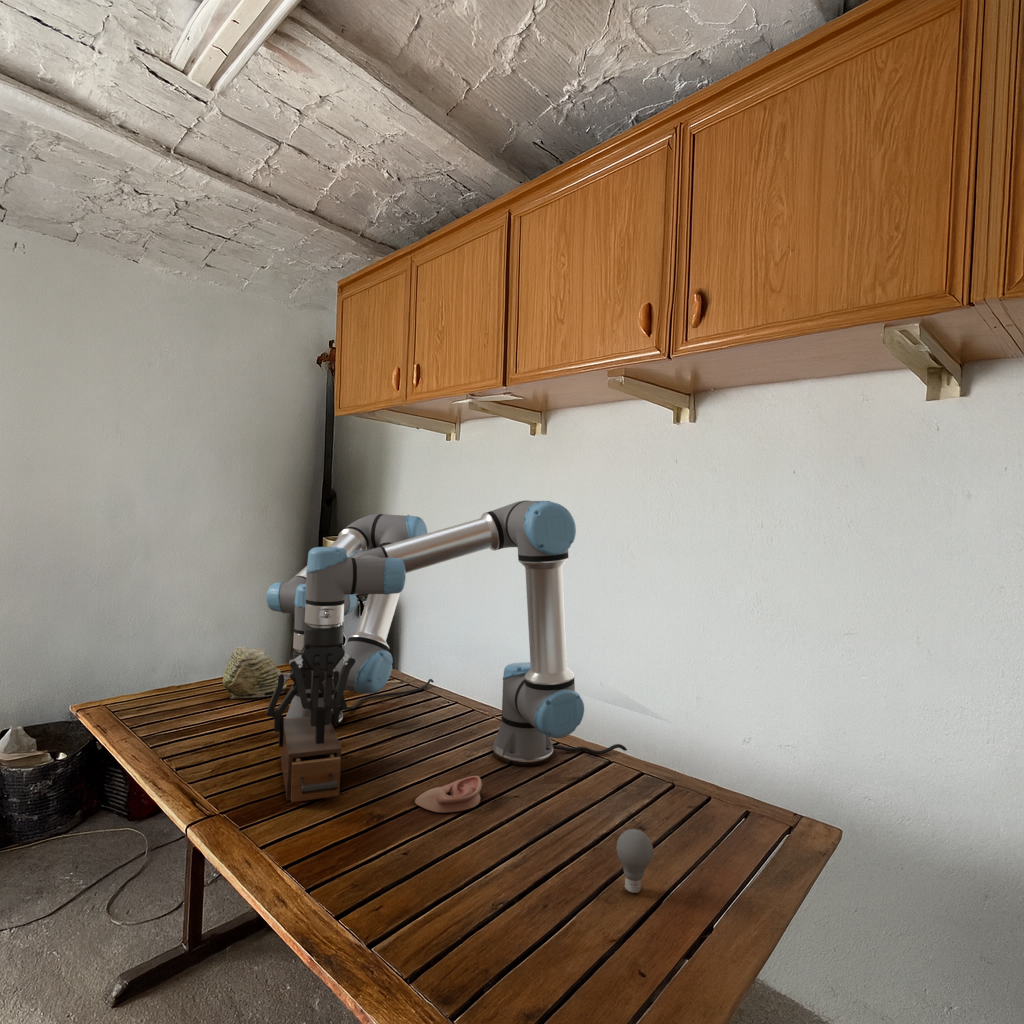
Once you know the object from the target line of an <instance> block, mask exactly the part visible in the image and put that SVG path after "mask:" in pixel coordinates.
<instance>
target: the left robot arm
mask: <svg viewBox="0 0 1024 1024" xmlns="http://www.w3.org/2000/svg"><path fill="white" fill-rule="evenodd" d="M427 533H428V528H427V525H426V523H425V521H424V519H423V518H422V517H420V516H417V515H410V514H407V515H403V514H402V515H401V514H385V513H384V514H383V513H373V514H368V515H366V516H363V517H361V518H359V519H357V520H355V521H353V522H351V523H350V524H349V525H347V526H346V527H345V528H343V529H342V530H341V531H340V532H339V533H338V535H337V539H336V540H335V541H334V542H332V543H331V544H330V545H329V546H328V547H339V548H344V549H345V550H346V553H347V557H349V556H350V555H351V554H352V553H354V552H356V551H360V550H366V551H368V550H371V549H375V548H378V547H382V546H385V545H389V544H392V543H396V542H399V541H403V540H406V539H410V538H413V537H417V536H420V535H424V534H427ZM306 569H307V565H306V566H305V567H303V568H302V569H300V571H298V573H296V574H295V576H293V577H292V578H291V579H290V580H289V581H288V582H284V581H280V582H274V583H272V584H271V585H269V588H268V589H267V592H266V596H265V601H266V604H267V607H268V608H269V610H271V611H273V612H278V613H283V614H291V615H292V614H293V615H294V628H293V639H292V641H293V643H292V648H293V649H294V650H293V652H292V659H295V658H297V657H298V656H300V655H301V651H302V649H303V646H304V627H305V626H306V625H308V624H306V623H305V603H306ZM400 596H401V592H400V593H395V594H388V595H385V594H367V598H366V601H365V604H364V607H363V610H362V613H361V616H360V618H359V622H358V625H357V629H356V632H355V633H354V634H352V635H350V636H348V638H347V642H346V645H343V648H344V650H345V653H346V654H347V655H349V656H353V657H354V659H355V664H354V665H353V667H352V668H351V669H350V672H349V676H348V679H347V683H346V686H345V690H344V691H347V692H354V693H357V694H369V696H365V697H363V698H360V699H359V700H358V701H356V703H355V704H354V705H352V706H348V705H347V702H346V698H345V695H344V694H343V697H342V700H341V704H340V705H339V706H335V707H333V708H332V709H331V718H330V720H331V723H332V725H333V728H334V729H335V728H337V727H339V726H340V725H342V723H343V722H344V714H343V711H348V710H349V711H351V710H355V709H356V708H357V707H358V705H360V703H362V702H364V701H368V700H372V699H377V698H383V697H389V696H391V697H392V696H398V695H399V696H400V695H406V694H411V693H415V692H419V691H422V690H424V689H427V688H428V687H429V685H430V683H434V681H435V680H433V679H432V678H429V679H428V680H427V682H426V684H425V685H423V686H421V687H418V688H413V689H409V690H404V691H397V692H387V693H381V694H376V693H379V692H380V691H381V690H382V689H383V688H384V687H385V685H386V684H387V683H388V681H389V679H390V677H391V675H392V671H393V662H394V661H393V656H392V654H391V652H389V651H390V645H389V644H388V643H387V639H388V637H389V636H388V635H389V633H390V630H391V629H390V628H391V625H392V622H393V618H394V616H395V612H396V609H397V605H398V602H399V599H400ZM357 603H358V600H357V594H353V595H349V594H346V595H345V598H344V617H345V616H347V615H349V614H351V613H352V612H353V611H355V609H356V607H357ZM342 660H343V658H342V659H341V660H340V662H339V663H338V664H337V666H336V667H335V668H334V669H333V677H332V699H333V697H334V694H335V690H336V687H337V683H338V680H339V676H340V673H341V669H342V666H343V663H342ZM300 670H301V673H302V677H303V681H304V686H305V691H306V695H307V700H308V701H311V679H312V670H311V669H310V668H309V667H308V665H307V664H306V663H305V661H304V660H303V661H302V668H300ZM289 679H291V680H292V682H293V684H292V685H291V687H290V689H289V690H288V692H287V693H286V695H285V697H284V698H283V700H282V701H281V702H280V703H279V705H278V707H277V704H278V702H279V699H280V696H281V694H282V693H281V691H282V689H283V686H284V683H286V684H287V682H288V681H289ZM324 683H325V671H320V677H319V695H318V707H324ZM370 694H371V695H370ZM372 694H375V695H372ZM276 707H277V708H276ZM288 707H289V708H288ZM287 708H288V711H287ZM285 711H287V713H286V715H285V717H284V715H283V714H284V712H285ZM266 716H267V717H268V718H269V717H271V718H274V719H273V720H274V721H273V722H274V723H273V729H274V732H275V733H278V747H279V748H281V747H283V726H284V719H289V718H300V717H310V709H307V708H306V709H304V708H303V707H302V704H301V699H300V695H299V690H298V686H297V681H296V677H295V673H294V671H293V670H292V669H291V671H290V672H282V671H280V672H279V673H278V683H277V685H276V688H275V690H274V693H273V695H272V696H271V698H270V701H269V703H268V705H267V708H266Z"/></svg>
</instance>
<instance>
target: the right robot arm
mask: <svg viewBox="0 0 1024 1024" xmlns="http://www.w3.org/2000/svg"><path fill="white" fill-rule="evenodd" d="M576 534H577V525H576V522H575V519H574V517H573V515H572V513H571V512H570V511H569V510H568V509H567V508H566V507H565V506H563V505H562V504H560V503H557V502H554V501H551V500H526V499H525V500H519V501H516V502H512V503H510V504H507V505H504V506H501V507H498V508H495V509H493V510H490V511H487V512H483V513H482V514H481V516H480V518H477V519H474V520H469V521H465V522H463V523H459V524H456V525H453V526H449V527H445V528H442V529H439V530H435V531H431V532H427V534H424V535H420V536H417V537H413V538H410V539H406V540H403V541H399V542H396V543H392V544H389V545H385V546H382V547H378V548H375V549H371V550H368V551H366V550H360V551H356V552H354V553H352V554H351V555H350V556H349V557H347V553H346V550H345V549H344V548H339V547H329V546H317V547H312V548H311V549H310V550H309V551H308V553H307V565H306V566H307V569H306V603H305V623H306V624H308V625H306V626H305V627H304V646H303V649H302V651H301V655H300V656H298V657H297V658H295V659H293V658H291V659H289V660H288V663H289V668H290V669H291V671H292V670H293V671H294V673H295V677H296V681H297V686H298V690H299V695H300V699H301V704H302V707H303V708H304V709H306V708H307V709H310V724H311V726H315V741H316V744H321V743H324V731H325V725H329V724H330V718H331V709H332V708H333V707H335V706H339V705H340V704H341V700H342V697H343V695H344V693H345V691H346V690H345V686H346V683H347V679H348V676H349V672H350V669H351V668H352V667H353V665H354V664H355V659H354V657H353V656H349V655H347V654H346V653H345V650H344V648H343V646H344V626H343V623H344V622H345V620H344V619H345V616H344V598H345V595H346V594H349V595H353V594H356V595H368V594H385V595H388V594H395V593H400V594H401V592H402V591H403V590H404V588H405V584H406V575H407V574H408V573H411V572H414V571H418V570H421V569H423V568H425V569H426V568H428V567H432V566H434V565H438V564H441V563H444V562H447V561H451V560H455V559H457V558H461V557H465V556H468V555H470V554H474V553H478V552H481V551H484V550H488V549H490V550H491V551H493V552H494V551H495V552H496V551H498V550H501V549H502V550H503V549H507V548H517V559H518V562H519V563H520V564H521V565H522V566H523V567H524V572H525V587H526V589H525V590H526V606H527V627H528V643H529V644H528V645H529V661H527V662H525V661H523V662H513V663H509V664H507V665H506V666H505V667H504V669H503V676H502V696H501V697H502V699H501V722H500V725H499V728H498V731H497V732H496V736H495V739H494V742H493V745H492V747H493V748H492V754H493V756H494V757H495V758H496V759H497V760H499V761H501V762H503V763H506V764H509V765H513V766H520V767H522V766H523V767H531V766H532V767H533V766H539V765H544V764H546V763H548V762H549V761H551V760H552V759H553V757H554V750H560V751H565V752H579V751H580V752H581V751H583V752H587V753H589V754H593V755H604V754H608V753H610V752H612V751H613V750H616V749H621V750H623V751H628V749H627V747H626V746H625V745H623V744H621V743H615V744H612V745H611V746H609V747H607V748H605V749H602V750H595V749H591V748H590V747H585V746H575V747H568V746H563V745H557V744H553V742H552V739H562V738H565V737H567V736H569V735H571V734H572V733H574V732H575V731H576V729H577V727H578V726H580V724H581V723H582V721H583V719H584V714H585V702H584V701H583V698H582V697H581V695H580V694H579V693H578V692H577V691H576V687H575V673H574V672H573V671H572V670H571V669H570V668H569V667H568V657H567V656H568V654H567V634H566V616H565V615H566V614H565V595H564V593H565V591H564V572H563V571H564V570H563V566H564V565H565V564H566V562H568V560H569V559H570V558H569V549H570V548H571V546H572V544H573V543H574V541H575V539H576ZM342 658H343V660H342V663H343V666H342V669H341V673H340V676H339V680H338V683H337V687H336V690H335V694H334V697H333V699H332V677H333V669H334V668H335V667H336V666H337V664H338V663H339V662H340V660H341V659H342ZM303 660H304V661H305V663H306V664H307V665H308V667H309V668H310V669H311V670H312V679H311V701H308V700H307V695H306V691H305V686H304V681H303V677H302V673H301V670H300V668H302V661H303ZM320 671H325V683H324V707H318V695H319V677H320Z"/></svg>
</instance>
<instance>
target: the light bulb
mask: <svg viewBox="0 0 1024 1024" xmlns="http://www.w3.org/2000/svg"><path fill="white" fill-rule="evenodd" d="M615 849H616V854H617V857H618V859H619V861H620V863H621V865H622V867H623V873H624V874H623V875H624V876H625V878H624V888H625V890H627V891H628V892H630V893H634V894H635V893H639V892H640V891H641V889H642V887H641V886H642V879H643V877H644V875H645V871H646V868H647V867H648V866H649V864H650V863H651V861H652V859H653V855H654V847H653V843H652V841H651V838H649V836H648V835H647V834H646V833H645V832H643V831H642V830H641V829H636V828H629V829H627V830H625V831H623V832H622V833H621V834H620V835H619V837H618V839H617V841H616V847H615Z"/></svg>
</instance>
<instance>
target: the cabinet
mask: <svg viewBox="0 0 1024 1024" xmlns="http://www.w3.org/2000/svg"><path fill="white" fill-rule="evenodd" d="M324 754H334V757H340V759H341V760H342V746H341V743H340V740H339V738H338V736H337V734H336V731H335V728H333V725H332V723H331V720H330V724H329V725H325V731H324V743H321V744H316V741H315V726H311V724H310V717H300V718H289V719H286V718H284V726H283V747H280V765H281V770H282V771H281V772H282V778H283V785H284V791H285V798H286V801H291V782H292V762H293V759H294V758H298V757H307V756H315V755H324ZM341 770H342V761H341V762H340V773H341V772H342V771H341ZM340 793H341V786H340V787H339V794H340Z"/></svg>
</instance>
